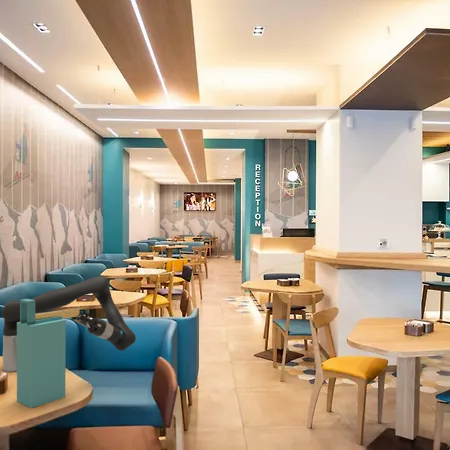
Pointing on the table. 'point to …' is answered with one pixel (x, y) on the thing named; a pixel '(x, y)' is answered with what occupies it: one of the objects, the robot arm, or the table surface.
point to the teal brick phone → (40, 357)
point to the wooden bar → (58, 314)
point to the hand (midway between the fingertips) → (74, 315)
